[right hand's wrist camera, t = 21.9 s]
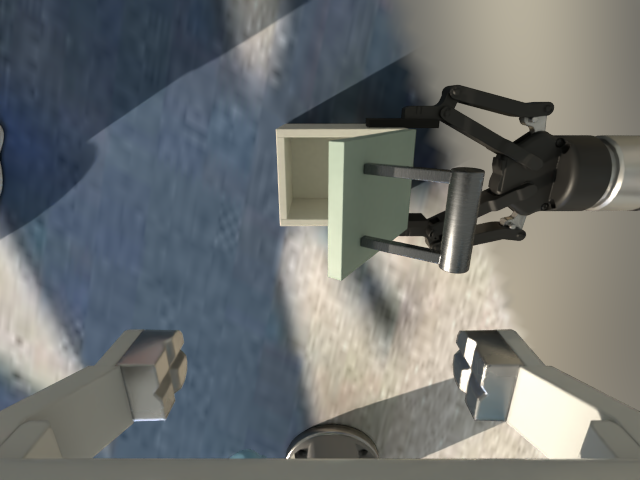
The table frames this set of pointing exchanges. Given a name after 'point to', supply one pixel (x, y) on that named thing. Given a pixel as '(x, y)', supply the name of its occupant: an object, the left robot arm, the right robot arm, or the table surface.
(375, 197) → the lid
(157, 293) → the table surface
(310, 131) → the chest
